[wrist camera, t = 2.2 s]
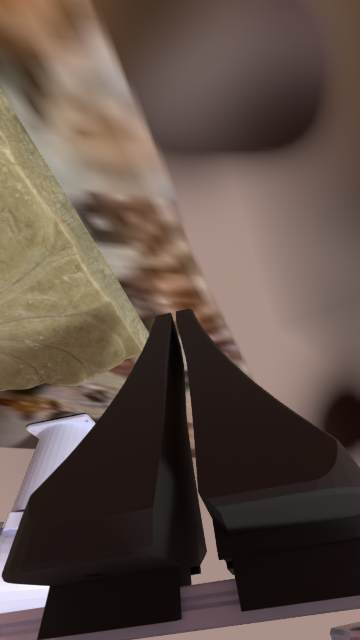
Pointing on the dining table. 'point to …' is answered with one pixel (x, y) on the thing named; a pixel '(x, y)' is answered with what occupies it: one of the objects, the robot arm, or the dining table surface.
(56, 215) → the decorative tile
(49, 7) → the dining table surface
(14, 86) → the dining table surface
